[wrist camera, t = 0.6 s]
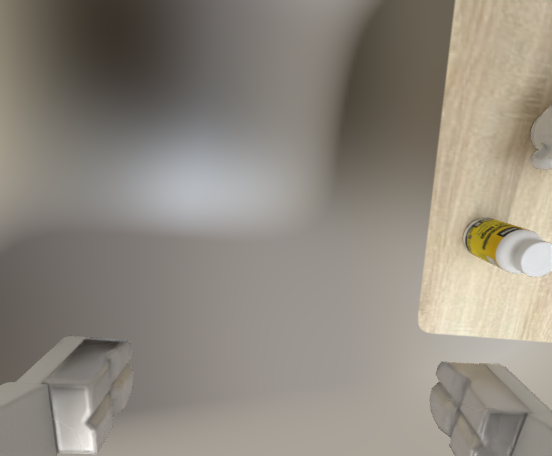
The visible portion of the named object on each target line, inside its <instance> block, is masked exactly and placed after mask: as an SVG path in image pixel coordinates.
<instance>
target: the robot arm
mask: <svg viewBox="0 0 552 456" xmlns="http://www.w3.org/2000/svg"><path fill="white" fill-rule="evenodd" d="M131 356H132V346H131V343H130V342H129V341H125V340H114V339H102V338H91V337H90V338H88V337H76V336H69V337H66V338H63V339H62V340H61V341H60V342H59V343H58V344H57V345H56V346H55V347H53V349H51V350H50V351H49V352H48V353H47V354H46V355H45V356H44V357H43V358H41V359H40V360H39V361H38V362H37V363H36V364H35V365H34V366H33V367H32V368H30V369H29V370H28V371H27V372H26V373H25V374H24V375H23V376H22V377H21V378H19V379H18V380H17V381H16V382H7V383H5V384H3V385H0V456H57V453H62V454H63V453H64V454H98V452H99V450H100V449H101V447H102V445H103V443H104V442H105V440H106V438H107V436H108V435H109V433H110V431H111V430H112V428H113V420H112V417H114V416H115V415H116V414H118V413H119V412H120V411H122V410H123V408H124V406H125V405H126V403H127V401H128V398H129V395H130V392H131V389H132V384H133V369H132V368H131V367H130V365H129V364H128V363H127V362H128V361H129V359H130V358H131ZM436 376H437V378H438V380H439V382H438V383H437V384H436V385H435V386H434V387H433V388H432V391H431V395H430V407H431V412H432V415H433V418H434V420H435V422H436V424H437V425H438V427H439V429H440V430H441V431H443V432H444V433H445V434H446V435H448V436H449V437H450V444H449V446H450V448H451V450H452V451H453V453H454V455H455V456H552V411H551V410H550V409H549V408H548V407H547V406H546V405H545V404H544V403H543V402H542V401H541V400H540V399H539V398H538V397H537V396H536V395H535V394H533V393H532V392H531V391H530V390H529V389H528V388H527V387H526V386H525V385H524V384H523V383H522V382H521V381H520V380H519V379H518V378H517V377H515V376H514V375H513V374H512V373H511V372H510V371H509V370H508V369H507V368H506V367H504V366H502V365H500V364H488V363H487V364H486V363H479V364H473V363H456V362H441V363H440V364H439V366H438V368H437V371H436Z"/></svg>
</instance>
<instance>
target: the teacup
mask: <svg viewBox="0 0 552 456" xmlns="http://www.w3.org/2000/svg"><path fill="white" fill-rule="evenodd" d="M530 135H531V141H532V143H533V145H534V146H535V147H536V148H537V149H538V150H537V151H536V152H535V153H534V154H533V155H532V156H531V159H530V161H531V164H532V166H533V167H535V168H537V169H551V168H552V105H551V106H549V107H548V108H547V109H546V110H545V111H544V113H543V114H542V115H541V116H539V117H538V118H537V120H536V121H535V122H534V124H533V126H532V129H531V134H530ZM545 157H546V158H545Z"/></svg>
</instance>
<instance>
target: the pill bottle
mask: <svg viewBox="0 0 552 456" xmlns="http://www.w3.org/2000/svg"><path fill="white" fill-rule="evenodd" d="M463 243H464V246H465V248H466V249H467V250H468V251H469V252H470V253H472V254H473V255H475V256H477V257H479V258H481V259H483V260H485V261H487V262H489V263H491V264H493V265H495V266H497V267H499V268H501V269H503V270H505V271H507V272H510V273H514V274H521V273H523V274H526V275H528V276H531V277H541V276H544V275H546V274H548V273H549V272H550V271H552V244H551V243H548V242H546V241H543V240H542V238H541V237H540V236H539V235H538V234H536V233H535V232H533V231H530V230H527V229H524V228H521V227H517V226H514V225H511V224H508V223H504V222H501V221H498V220H495V219H491V218H482V219H478V220H476V221H474V222H472V223H471V224H470V225H469V226H468V227H467V229H466V230H465V232H464V235H463Z"/></svg>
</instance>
